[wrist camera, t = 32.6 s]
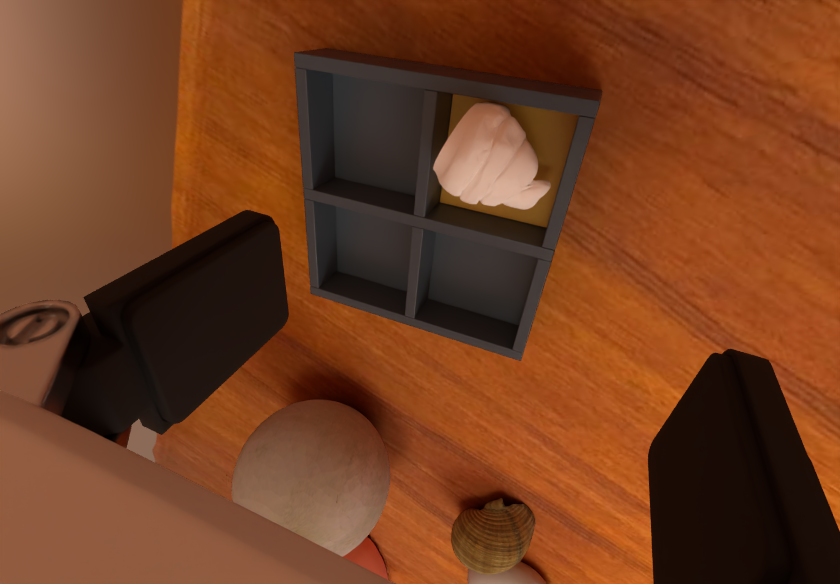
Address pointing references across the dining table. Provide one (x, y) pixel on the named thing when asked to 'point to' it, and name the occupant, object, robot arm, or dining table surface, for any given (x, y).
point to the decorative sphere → (315, 473)
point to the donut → (507, 576)
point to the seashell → (492, 536)
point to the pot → (368, 557)
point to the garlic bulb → (490, 160)
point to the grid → (429, 194)
